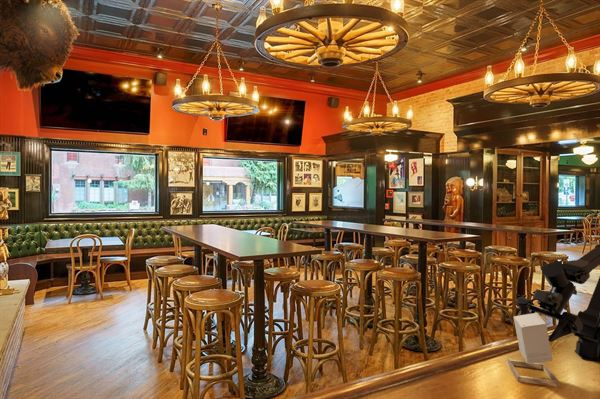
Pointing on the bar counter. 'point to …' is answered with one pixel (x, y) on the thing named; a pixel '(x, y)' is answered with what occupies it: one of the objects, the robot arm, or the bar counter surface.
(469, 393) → the bar counter surface
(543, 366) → the tray rim
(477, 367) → the bar counter surface
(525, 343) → the supplement box
